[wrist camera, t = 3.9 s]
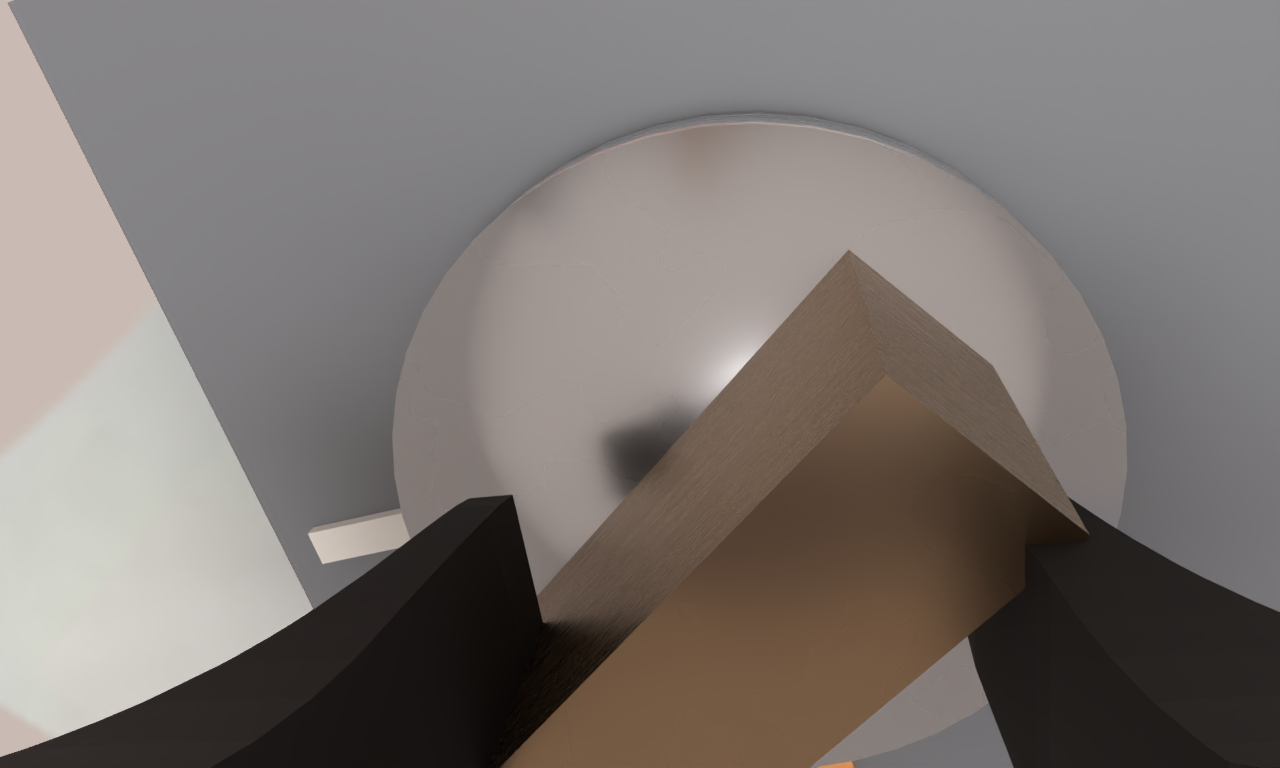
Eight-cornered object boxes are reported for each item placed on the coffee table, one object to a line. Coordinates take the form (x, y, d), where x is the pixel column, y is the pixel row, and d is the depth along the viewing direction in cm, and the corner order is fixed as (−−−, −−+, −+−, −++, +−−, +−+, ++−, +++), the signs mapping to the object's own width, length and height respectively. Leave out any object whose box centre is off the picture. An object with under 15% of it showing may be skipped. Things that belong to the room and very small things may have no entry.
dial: (1264, 425, 13) (1530, 667, 9) (783, 816, 17) (788, 1129, 12) (687, -61, 12) (635, -79, 7) (300, 490, 15) (106, 709, 11)
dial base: (1308, 754, 17) (1362, 832, 16) (491, 859, 21) (468, 930, 19) (1227, -439, 11) (1303, -505, 9) (78, -1, 15) (-3, 3, 13)
